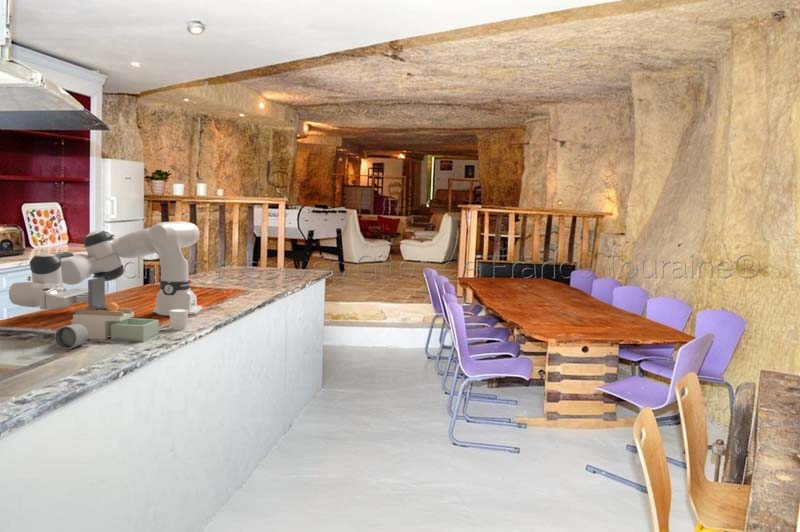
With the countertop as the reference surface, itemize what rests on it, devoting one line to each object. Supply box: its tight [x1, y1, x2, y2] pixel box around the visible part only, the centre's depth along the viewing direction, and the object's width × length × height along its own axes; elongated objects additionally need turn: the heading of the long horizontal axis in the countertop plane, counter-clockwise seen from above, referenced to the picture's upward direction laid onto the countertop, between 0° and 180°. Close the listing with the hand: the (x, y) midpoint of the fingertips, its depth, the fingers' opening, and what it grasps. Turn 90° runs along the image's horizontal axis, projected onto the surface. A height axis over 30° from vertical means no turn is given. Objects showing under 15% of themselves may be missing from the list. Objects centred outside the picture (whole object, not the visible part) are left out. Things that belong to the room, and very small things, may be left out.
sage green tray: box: [110, 317, 160, 343], centre depth 229 cm, size 12×12×6 cm
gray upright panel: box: [87, 277, 108, 311], centre depth 229 cm, size 8×4×12 cm, turn 175°
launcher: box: [71, 305, 135, 341], centre depth 229 cm, size 12×17×10 cm
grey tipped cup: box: [50, 323, 88, 351], centre depth 212 cm, size 11×8×8 cm
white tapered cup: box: [169, 309, 188, 331], centre depth 246 cm, size 7×7×7 cm
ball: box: [106, 302, 120, 311], centre depth 229 cm, size 4×4×4 cm
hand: (92, 298), depth 228 cm, fingers closed
